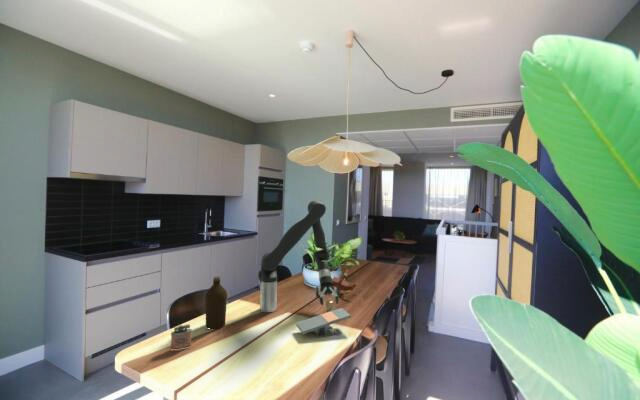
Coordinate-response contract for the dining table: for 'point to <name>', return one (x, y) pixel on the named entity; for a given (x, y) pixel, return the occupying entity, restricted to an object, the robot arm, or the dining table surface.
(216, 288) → the olive oil
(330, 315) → the seesaw board
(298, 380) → the dining table surface
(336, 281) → the decorative bird
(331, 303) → the ball
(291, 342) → the dining table surface
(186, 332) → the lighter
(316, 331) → the pivot stand
